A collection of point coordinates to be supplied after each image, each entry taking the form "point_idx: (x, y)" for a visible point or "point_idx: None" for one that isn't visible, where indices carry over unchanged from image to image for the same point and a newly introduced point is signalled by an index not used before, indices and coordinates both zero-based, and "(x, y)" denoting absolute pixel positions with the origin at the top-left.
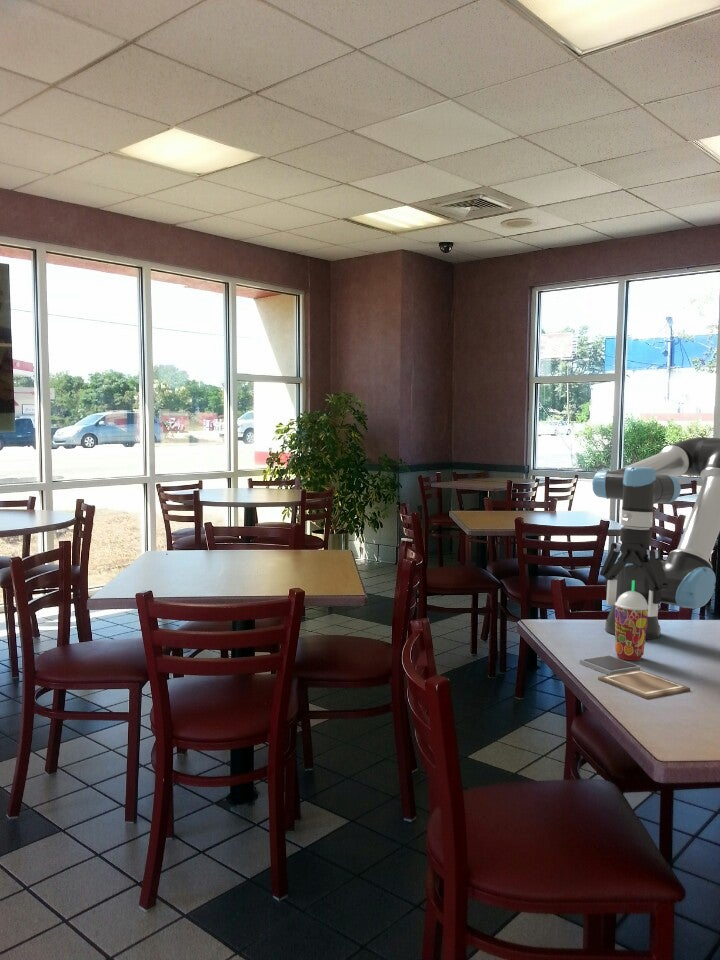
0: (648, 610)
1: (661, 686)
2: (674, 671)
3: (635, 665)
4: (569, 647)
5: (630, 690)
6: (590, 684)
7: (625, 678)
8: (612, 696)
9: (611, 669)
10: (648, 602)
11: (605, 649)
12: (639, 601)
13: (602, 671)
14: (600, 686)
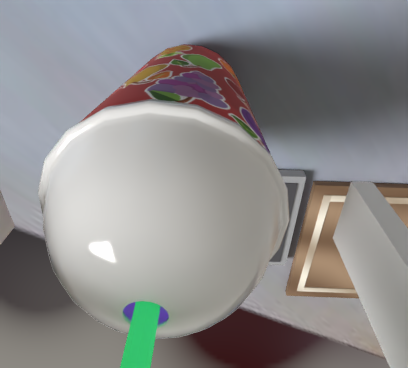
0: (349, 265)
1: None
2: (381, 74)
3: (294, 187)
4: (35, 180)
5: None
6: (295, 314)
7: (331, 262)
8: (362, 324)
9: (280, 259)
10: (367, 314)
11: (76, 89)
12: (258, 282)
13: None
14: (315, 309)
